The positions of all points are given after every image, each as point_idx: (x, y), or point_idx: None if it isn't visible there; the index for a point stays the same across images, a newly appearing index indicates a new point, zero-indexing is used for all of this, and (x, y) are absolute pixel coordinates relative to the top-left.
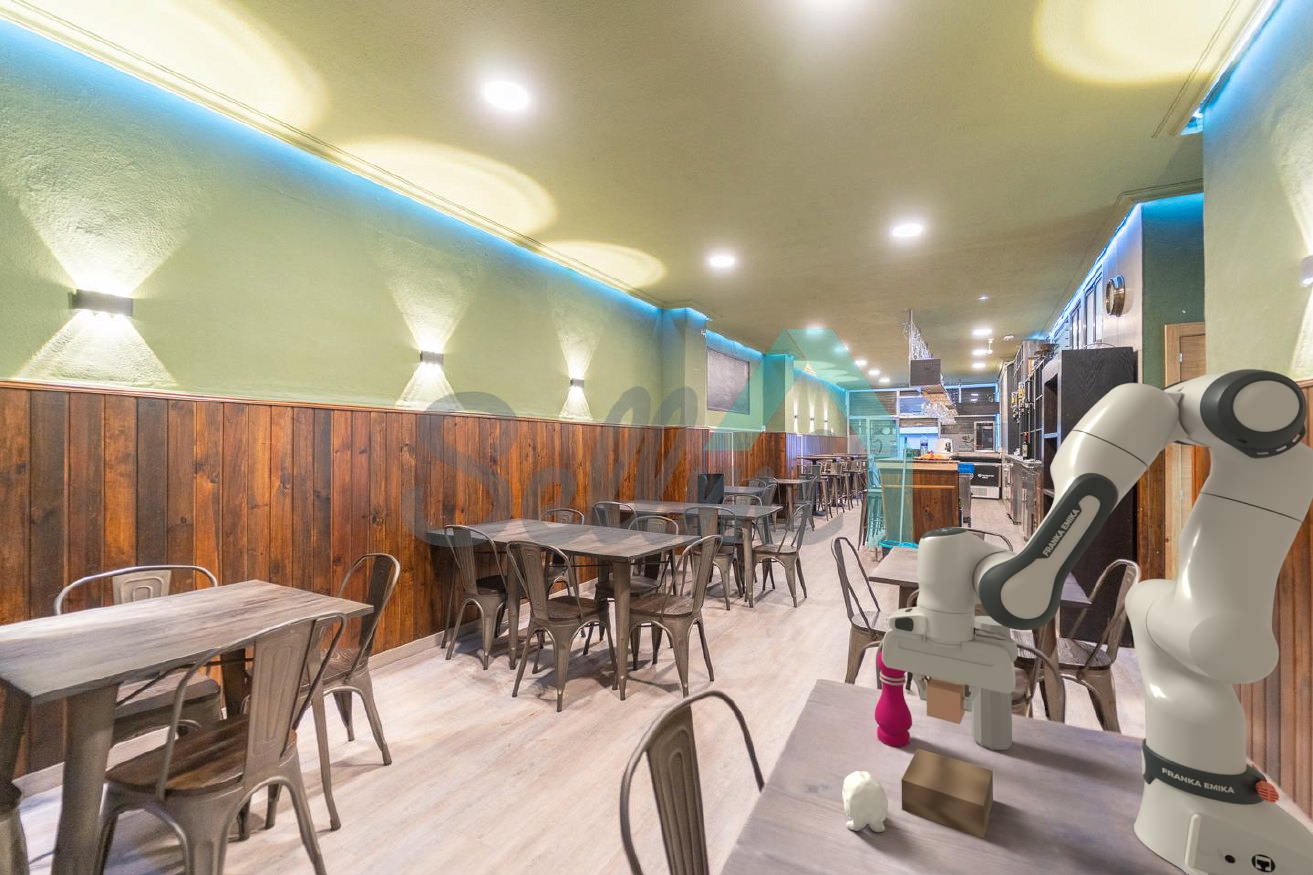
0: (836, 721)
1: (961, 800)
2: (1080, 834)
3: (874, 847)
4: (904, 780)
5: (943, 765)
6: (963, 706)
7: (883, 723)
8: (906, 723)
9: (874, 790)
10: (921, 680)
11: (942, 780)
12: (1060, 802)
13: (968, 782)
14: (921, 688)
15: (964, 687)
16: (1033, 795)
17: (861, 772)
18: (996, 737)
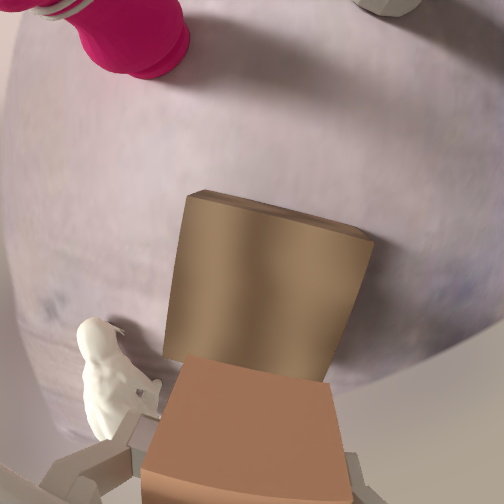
0: (48, 42)
1: None
2: (463, 282)
3: (158, 412)
4: (168, 358)
5: (252, 266)
6: None
7: (106, 69)
8: (161, 49)
9: None
10: (98, 471)
11: (246, 335)
12: (468, 191)
13: (305, 323)
14: (120, 479)
15: (349, 479)
16: (433, 180)
17: (98, 426)
18: (397, 6)
